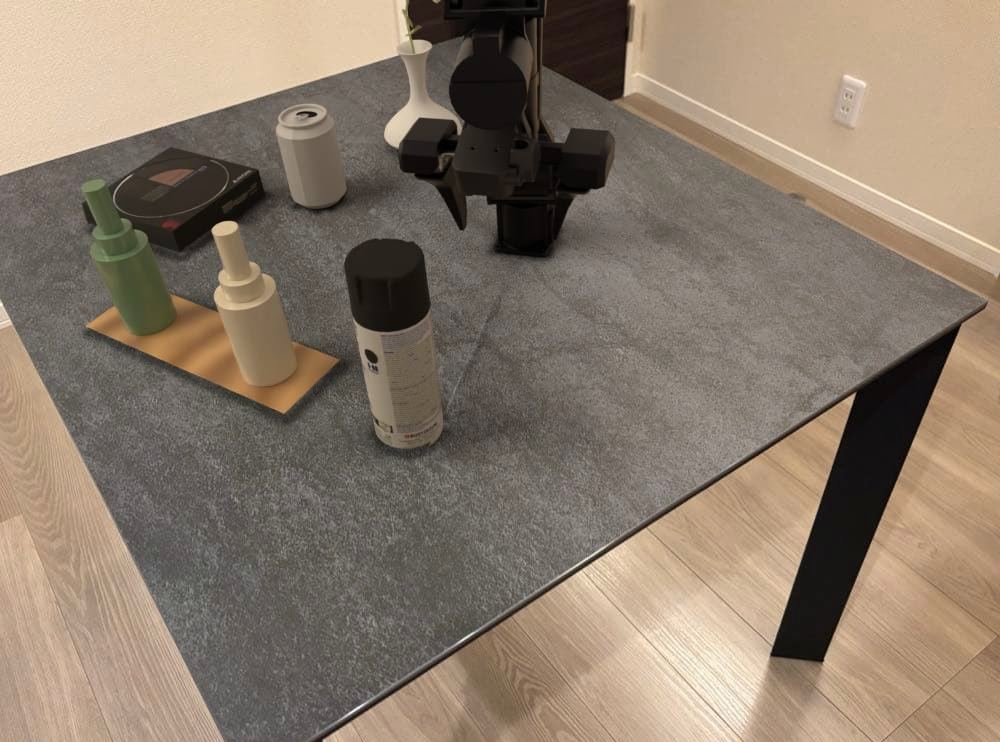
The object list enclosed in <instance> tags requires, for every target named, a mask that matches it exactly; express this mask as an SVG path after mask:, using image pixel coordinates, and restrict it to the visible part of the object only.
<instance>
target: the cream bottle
mask: <svg viewBox="0 0 1000 742" xmlns="http://www.w3.org/2000/svg"><path fill="white" fill-rule="evenodd" d="M211 234H212V237H213V240H214V243H215V246H216V248H217V251H218V255H219V258H220V260H221V263H222V266H223V268H222V269H221V271H220V272H218V273H219V274H218V276H217V277H218V282H219V285H218V286H217V287H216V289H215V291H214V293H213V301H214V303H215V307H216V309H217V312H219V315H220V318H221V320H222V323H223V326H224V329H225V332H226V335H227V337H228V340H229V343H230V346H231V349H232V351H233V354H234V357H235V360H236V363H237V366H238V368H239V371H240V374H241V377H242V378H243V380H244V381H245V382H247V383H248V384H250V385H253V386H259V387H266V386H272V385H276V384H279V383H281V382H283V381H285V380H286V379H288V378H289V377H290V376H291V375H292V374H293V373H294V372H295V370H296V368H297V364H298V361H297V357H296V354H295V350H294V347H293V343H292V341H293V340H292V337H291V336H292V335H291V334H290V328H289V326H288V322H287V319H286V315H285V312H284V308H283V304H282V301H281V298H280V294H279V290H278V287H277V283H276V281H275V280H274V278H273V277H271V276H270V275H268V274H266V273H262V269H261V267H260V266H259V264H257V263H256V262H253V261H250V260H249V257H248V253H247V250H246V246H245V243H244V240H243V237H242V233H241V230H240V226H239V224H238V223H237V222H236V221H234V220H233V221H225V222H221V223H218V224H217V225H215V226H214V227H213V228H212V229H211Z"/></svg>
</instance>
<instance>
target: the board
mask: <svg viewBox="0 0 1000 742" xmlns="http://www.w3.org/2000/svg"><path fill="white" fill-rule="evenodd" d="M170 295H171V297H172V300H173V302H174V305H175V307H176V310H177V317H176V319H175V321H174V322H173V323H172V324H171V325H170V326H169V327H167V328H166V329H164V330H162V331H160V332H158V333H155V334H151V335H144V336H139V335H133V334H130V333H129V332H127V331H126V330H125V328H124V326H123V324H122V321H121V319H120V317H119V315H118V313H117V311H116V309H115V306H114V305H112V306H111V307H109V309H107V310H106V311H105V312H103V313H101V314H100V315H99V316H97V317H95V319H93V320H92V321H90V322H89V323H87V324H86V326H85V327H87V328H88V329H91V330H93V331H95V332H98V333H99V334H102V335H105V336H106V337H109V338H111V339H113V340H116V341H118V342H121V343H122V344H124V345H127V346H128V347H131V348H134V349H135V350H138V351H141V352H143V353H145V354H147V355H150V356H151V357H154V358H157V359H159V360H161V361H163V362H166V363H168V364H170V365H173V366H175V367H177V368H179V369H181V370H183V371H184V370H185V371H187V372H189V373H191V374H193V375H195V376H197V377H199V378H202V379H205V380H206V381H209V382H211V383H213V384H216V385H218V386H221V387H222V388H224V389H227V390H229V391H231V392H234V393H236V394H238V395H240V396H243V397H246V398H248V399H250V400H252V401H254V402H257V403H260V404H261V405H263V406H265V407H268V408H270V409H272V410H275V411H277V412H278V413H279V412H280V413H281V414H283V415H285V414H286V413H287V412H288V411H289V410H290V409H291V408H293V406H294V405H296V403H298V402H299V401H300V400H301V399H302V398H303V397H304V396H305V395H306V394H307V393H308V392H309V391H310V390H311V389H312V388H313V387H315V385H316V384H318V382H319V381H320V380H321V379H322V378H323V377H324V376H326V374H328V372H329V371H330V370H332V368H334V367H335V365H337V364H338V362H340V361H341V359H340V358H337V357H334V356H332V355H329V354H326V353H325V352H321V351H319V350H317V349H314V348H311V347H308V346H306V345H304V344H301V343H298V342H296V341H293V340H292V343H293V347H294V350H295V354H296V357H297V361H298V364H297V368H296V370H295V372H294V373H293V374H292V375H291V376H290V377H289V378H288V379H286V380H285V381H283V382H281V383H279V384H276V385H272V386H266V387H259V386H253V385H250V384H248V383H247V382H245V381H244V380H243V378H242V377H241V374H240V371H239V368H238V366H237V363H236V360H235V357H234V354H233V351H232V349H231V346H230V343H229V340H228V337H227V335H226V332H225V329H224V326H223V323H222V320H221V318H220V315H219V312H218V311H216V310H214V309H212V308H208V307H206V306H203V305H200V304H198V303H196V302H193V301H190V300H188V299H185V298H182V297H180V296H177V295H175V294H172V293H170Z"/></svg>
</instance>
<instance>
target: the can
mask: <svg viewBox="0 0 1000 742" xmlns="http://www.w3.org/2000/svg"><path fill="white" fill-rule="evenodd" d="M277 117H278V118H277V121H278V123H277V125H276V127H275V134H276V139H277V141H278V146H279V150H280V155H281V158H282V162H283V167H284V171H285V175H286V179H287V182H288V188H289V191H290V195H291V199H292V200H293V201H294V202H295V203H297V204H298V205H300V206H302V207H304V208H307V209H310V210H313V209H314V210H318V209H325V208H329V207H331V206H333V205H335V204H337V203H338V202H339V201H340V200H341V198H342V197H343V196H344V195H345V194H346V192H347V182H346V177H345V172H344V167H343V161H342V157H341V156H342V155H341V152H340V146H339V140H338V135H337V129H336V125H335V119H334V118H333V117H332V115H329V114H328V110H327V108H325V106H322V105H321V104H316V103H301V104H296V105H292V106H290V107H288V108H286V109H284V110H282V111H281V112H280V113H279V115H278V116H277Z"/></svg>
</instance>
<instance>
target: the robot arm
mask: <svg viewBox="0 0 1000 742" xmlns="http://www.w3.org/2000/svg"><path fill="white" fill-rule="evenodd" d="M442 3H443V4H442V17H443V21H444V22H445V21H446V22H447V21H448V22H449V21H463V32H464V33H463V39H462V42H461V45H460V49H459V50H458V54H457V57H456V61H455V63H454V67H453V69H452V73H451V77H450V80H449V84H448V95H449V100H450V104H451V106H452V108H453V110H454V112H455V113H456V114H457V115H458V117H459V118H460V119H461V120H462V121H464V122H463V126H462V131H461V134H460V135H458V130H457V124H456V122H455V121H454V120H450V119H435V118H421V117H419V118H418V119H417V120H416V121H415V123H414V124H413V125H412V126H411V128H410V129H409V131H408V132H407V133H406V135H405V136H404V138H403V139H402V141H401V142H400V143H399V148H398V150H397V159H398V164H399V170H400V171H401V172H402V173H404V174H405V173H406V174H413V176H414V178H415V179H416V180H417V181H423V182H426V183H428V184H430V185H432V186H433V187H434V188H435V189H436V190H437V192H438V193H439V194H440V197H441V198H442V200H443V201H444V203H445V205H446V207H447V209H448V210H449V212H450V215H451V216H452V218H453V220H454V222H455V224H456V226H457V228H458V230H459V231H462V232H463V231H465V230H466V227H467V224H468V223H467V222H468V205H467V197H473V196H480V197H481V196H482V197H485V198H486V205H487V206H493V205H495V211H496V212H495V214H496V231H497V238H496V241H495V243H494V245H493V251H494V252H497V253H504V254H507V253H508V254H515V255H523V256H524V255H525V256H533V257H542V258H543V257H545V256H547V254H548V252H549V249H550V246H552V245H553V244H554V242H555V241H558V238H559V235H560V232H561V230H562V227H563V225H564V222H565V220H566V217H567V214H568V211H569V209H570V207H571V205H572V204H573V202H574V200H575V198H576V197H577V196H586V195H588V194H589V193H590V192H591V190H599V189H603V188H605V186H606V184H607V181H608V178H609V175H610V171H611V169H612V166H613V163H614V161H615V153H616V138H615V136H614V135H613V134H612V133H611V131H610V130H608V129H607V130H606V129H596V128H595V129H594V128H593V129H592V128H581V127H580V128H579V127H578V128H577V127H570V130H569V132H568V134H567V137H566V139H565V141H564V142H558V141H556V140H555V135H554V133H553V132H552V129H551V128H550V126H549V124H548V122H547V120H546V119H545V117H544V115H543V114H542V103H543V102H542V100H543V99H542V97H543V96H542V95H543V40H544V39H543V35H544V32H543V31H544V19H545V18H546V14H547V7H548V6H547V3H548V0H443V1H442Z"/></svg>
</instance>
